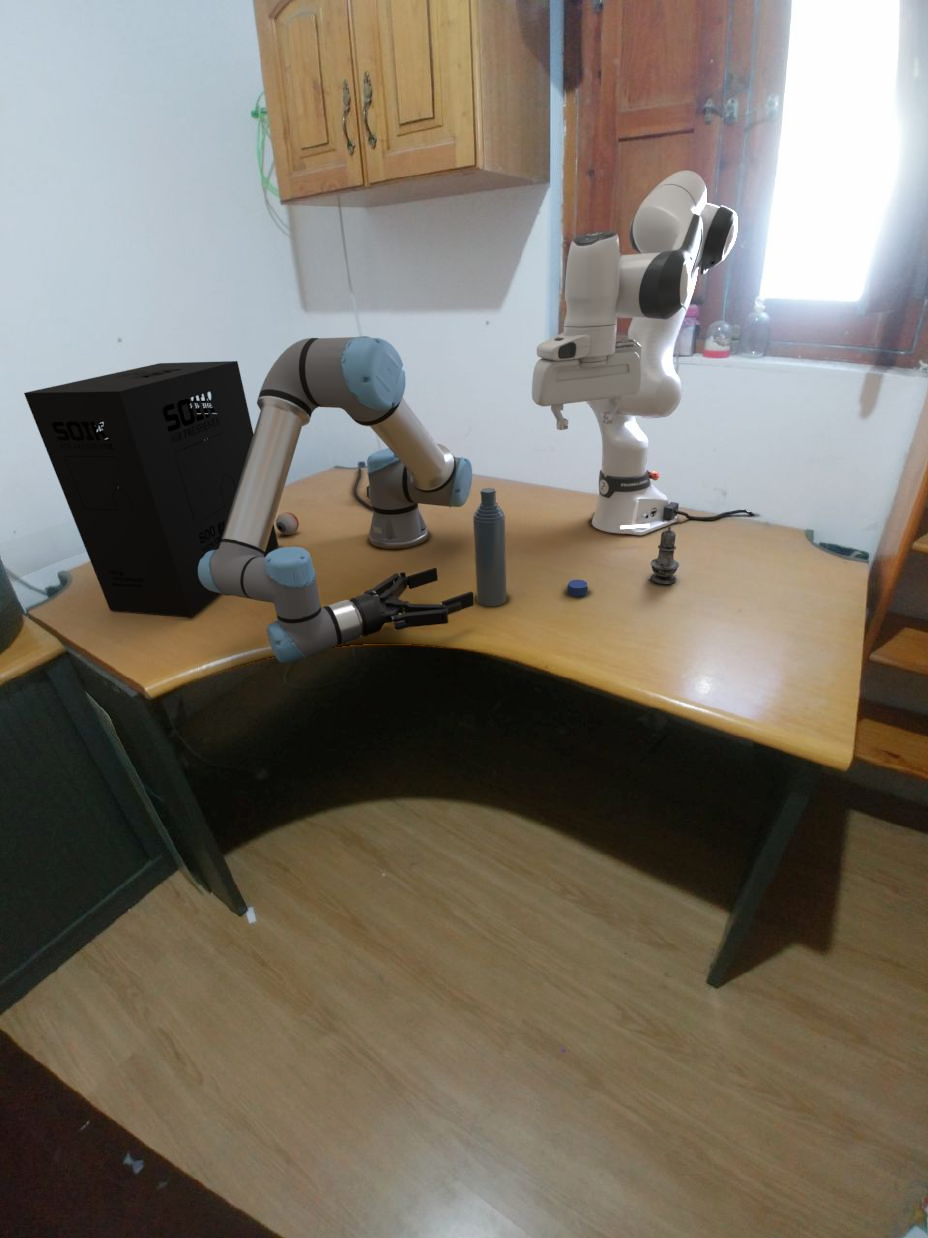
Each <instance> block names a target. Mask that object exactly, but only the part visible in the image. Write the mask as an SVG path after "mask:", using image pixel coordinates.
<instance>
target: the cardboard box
mask: <svg viewBox="0 0 928 1238" xmlns="http://www.w3.org/2000/svg"><path fill="white" fill-rule="evenodd" d="M209 393H210V397H209V395H208V394H209ZM23 394H24V397H25V399H26V402H27V405H28V407H29V410H30V412H31V414H32V418H33V420H34V423H35V425H36V427H37V430H38V431H39V432H38V433H39V435H40V437H41V440H42V442H43V445H44V447H45V450H46V452H47V455H48V457H49V460H50V463H51V465H52V467H53V470H54V473H55V475H56V478H57V480H58V483H59V486H60V488H61V490H62V493H63V495H64V498H65V501H66V503H67V505H68V509H69V510H70V513H71V516H72V518H73V520H74V523H75V525H76V528H77V532H78V533H79V536H80V538H81V541H82V544H83V546H84V548H85V551H86V554H87V555H88V558H89V561H90V563H91V566H92V568H93V571H94V574H95V576H96V579H97V581H98V584H99V587H100V589H101V591H102V594H103V597H104V598H105V601H106V603H107V607H108V609H109V611H110V612H119V613H120V612H122V613H133V614H146V615H157V616H160V615H161V616H170V617H171V616H172V617H183V618H193V617H194V616H195V615H196V614H197V613H199V612H200V611H202V610H203V609H204V608H205V607H206V606H208V605H209V604H210V603H211V602H213V600H214V599H216V598H217V597H218V596H219V595H222V593H218V592H214V591H210V590H208V589H207V588H205V587H204V586H203V585H202V583H201V582H200V580H199V577H198V565H199V562H200V560H201V558H203V557H204V555H205V554H206V553H207V552H209V551H211V550H217V549H219V547H220V543H221V541H222V537H223V533H224V530H225V527H226V524H227V520H228V517H229V514H230V510H231V507H232V504H233V500H234V497H235V494H236V491H237V487H238V484H239V481H240V477H241V474H242V471H243V467H244V464H245V461H246V458H247V454H248V451H249V448H250V444H251V441H252V438H253V434H254V429H253V425H252V421H251V417H250V416H251V415H250V411H249V408H248V403H247V398H246V394H245V388H244V385H243V379H242V376H241V371H240V367H239V361H238V360H227V361H226V360H225V361H224V360H223V361H189V362H188V361H187V362H159V363H155V364H149V365H145V366H140V367H136V368H131V369H126V370H123V371H117V372H114V373H113V372H112V373H109V374H104V375H100V376H95V377H90V378H86V379H81V380H77V381H72V382H68V383H62V384H58V385H54V386H53V385H52V386H49V387H44V388H40V389H35V390H32V391H31V390H30V391H26V392H23ZM197 397H198V398H197ZM192 398H193V399H192ZM202 398H203V399H204V400H202ZM278 548H279V542H278V537H277V533H276V529H275V524H274V523H273V527H272V530H271V533H270V537H269V540H268V544H267V547H266V550H265V554H264V557H266V555H267V554H268V553H270V552H272V551H274V550H276V549H278Z"/></svg>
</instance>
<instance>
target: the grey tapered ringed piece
mask: <svg viewBox="0 0 928 1238" xmlns="http://www.w3.org/2000/svg"><path fill="white" fill-rule="evenodd" d="M676 536H677V535H676V532H675V531H674V530H672V527H671V526H667V529H666V530H663V531H662V532H661V535H660V542H659V543H660V544H658V545H657V548H658V555H657V558H653V559H652V560H651V561H650V566H651V570H652V572H653V573H652V574H651V575H650V577H649V579H650V580H651V581H652V582H653V583H655V584H660V585H671V584H674V583H675V582H676V580H677V578H676V576H674V575H675V573H676V572H677V570H678V569H679V567H680V563H679V562H678V561H677V560H676V559H674V554H675V551H676V549H677V547H676V546H675V543H676Z"/></svg>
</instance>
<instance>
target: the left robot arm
mask: <svg viewBox="0 0 928 1238" xmlns="http://www.w3.org/2000/svg"><path fill="white" fill-rule="evenodd" d="M403 366H404V363H403V359H402V357H401V356H400V354H399V352H398V351H397V349H396V348H395V347H394V346H393V345H392V344H391V343H390V342H389V341H387V340H385V339H383V338H380V337H370V336H366V335H361V336H349V337H346V336H345V337H320V338H319V337H309V338H308V337H307V338H303V339H300V340H298V341H296V342H294V343H292V344H291V345H289V346H288V347H287V348H286V349H285V350H284V351H283V352H282V353H281V354H280V355H279V356H278V358H277V359H276V360H275V361H274V363H273V365H271V368H270V369H269V371H268V372H267V375H266V376H265V378H264V380H263V382H262V385H261V388H260V391H259V395H258V397H257V400H256V405H257V407H258V409H259V410H260V411H259V415H258V419H257V421H256V425H255V428H254V430H253V438H252V441H251V444H250V448H249V451H248V454H247V458H246V461H245V464H244V467H243V471H242V474H241V477H240V481H239V484H238V487H237V491H236V494H235V497H234V500H233V504H232V507H231V510H230V514H229V517H228V520H227V524H226V527H225V530H224V533H223V537H222V541H221V543H220V547H219V549H217V550H211V551H209V552H207V553H206V554H205V555H204V557H203V558H201V560H200V562H199V565H198V577H199V580H200V582H201V583H202V585H203V586H204V587H205V588H207V589H208V590H210V591H214V592H218V593H221V595H223V596H232V597H239V598H244V599H250V600H254V601H258V602H262V603H263V602H264V603H269V604H273V606H274V610H275V613H276V618H277V620H275V621H272V622H271V623H269V624H267V626H266V632H267V633H266V634H267V640H268V643H269V645H270V648H271V651H272V653H273V655H274V656H275V659H276V660H277V661H278V662H279V663H282V664H288V663H292V662H296V661H298V660H299V661H300V660H302V659H304V660H305V659H307V658H309V657H311V656H314V655H316V654H319V653H322V652H325V651H327V650H330V649H332V648H335V647H338V646H341V645H346V644H347V643H350V642H352V641H356V640H359V639H360V638H361V637H364V638H365V637H368V636H372V635H375V634H377V633H380V632H381V631H382V629H383V626H384V625H385V624H390V623H392V624H393V628H394V630H395V631H400V630H404V629H408V628H417V627H427V626H439V625H446V624H448V623H449V615H452V614H455V613H458V612H460V611H462V610H465V609H468V608H470V607H473V606H475V599H474V597H475V596H474V592H473V591H468V592H466V593H465V592H464V593H463V594H460V595H457V596H454V597H450V598H448V599H445V600H442V601H441V603H437V604H436V603H411V602H409V600H402V599H400V597H401V596H402V595H403V593H404V592H405V591H406V590H407V589H409V590H413V589H416V588H419V587H422V586H425V585H428V584H432V583H434V582H438V581H439V578H438V567H432V568H428V569H426V570H423V571H420V572H416V573H412V574H410V575H407V573H406V571H401V572H399V573H397V572H396V573H393V574H392V575H390V576H389V577H387V578H385V579H384V580H383V581H381V582H380V583H378V584H377V585H375V586H374V587H372V588H369V589H367V590H364V592H363V594H359V595H357V596H354V597H351V598H350V599H343V600H340V601H337V602H334V603H331V604H329V605H325V606H322V605H321V604H322V603H321V600H320V599H321V598H320V593H319V587H318V582H317V573H316V569H315V568H314V565H313V561H312V557H311V554H310V553H309V551H308V550H306V549H305V548H303V547H299V546H290V547H287V546H284V547H278V548H276V549H274V550H273V551H272V552H270V553H268V554H267V555H266V557H264V554H265V550H266V547H267V544H268V540H269V537H270V533H271V530H272V527H273V524H274V523H275V521H276V516H277V513H278V509H279V506H280V503H281V499H282V497H283V496H282V495H283V493H284V489H285V485H286V483H287V478H288V475H289V472H290V469H291V465H292V462H293V459H294V455H295V452H296V449H297V445H298V442H299V438H300V435H301V432H302V428H303V427H305V426H306V425H308V424H309V423H310V421H311V417H312V415H313V413H314V411H315V410H316V409H317V408H330V409H331V408H333V409H342V410H343V411H344V412H345V413H346V414H347V415H348V416H349V417H350V418H351V419H352V420H353V421H354V422H355V423H357V424H358V425H360V426H363V427H370V428H371V430H372V431H373V432H374V433H375V434H376V435H377V436H378V438H379V439H380V440H381V441H382V442H383V443H384V444H385V446H387V448H383V449H380V450H377V451H375V452H373V453H371V454H370V455H369V456H368V457H367V460H366V465H367V468H366V469H367V472H366V474H367V476H368V484H369V485H370V492H371V499H372V501H371V504H369V503H367V502H366V501H364V500H363V499H361V497H360V496H359V494H358V492H357V491H358V485H359V482H360V479H361V476H362V468H361V467H359V468H358V471H357V472H358V474H357V478H356V479H355V483H354V486H353V494H354V497H355V498H356V500H357V501H358V502H360V503H361V504H363V506H365V507H367V508H369V509H370V510H372V517H371V522H370V527H369V533H368V536H369V542H370V544H371V545H372V546H374V547H376V548H379V549H384V550H401V549H409V548H412V547H416V546H418V545H420V544H423V543H424V542H425V541H426V540H428V536H429V531H428V527H427V524H426V522H425V520H424V518H423V515H422V513H421V511H420V508H419V504H420V505H430V506H438V507H448V508H461V507H463V506H464V505H465V504H466V503H467V501H468V499H469V497H470V493H471V490H472V489H471V488H472V484H473V466H472V462H471V460H470V459H469V458H467V457H463V456H460V457H456V456H454V454H453V453H452V451H451V450H450V449H449V448H448V447H447V446H445V445H444V444H440V443H437V442H436V441H435V439H434V438H433V436H432V435H431V434H430V432H429V431H428V429H426V427H425V426H424V424H423V423H422V422H421V420H420V419H419V417H418V416H417V414H416V413H415V412H414V410H413V409H412V408H411V406H410V405H409V404H408V402H407V401H406V399H405V398H404V394H405V389H406V371H405V370H403ZM369 485H368V486H369ZM371 499H370V500H371Z"/></svg>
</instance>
